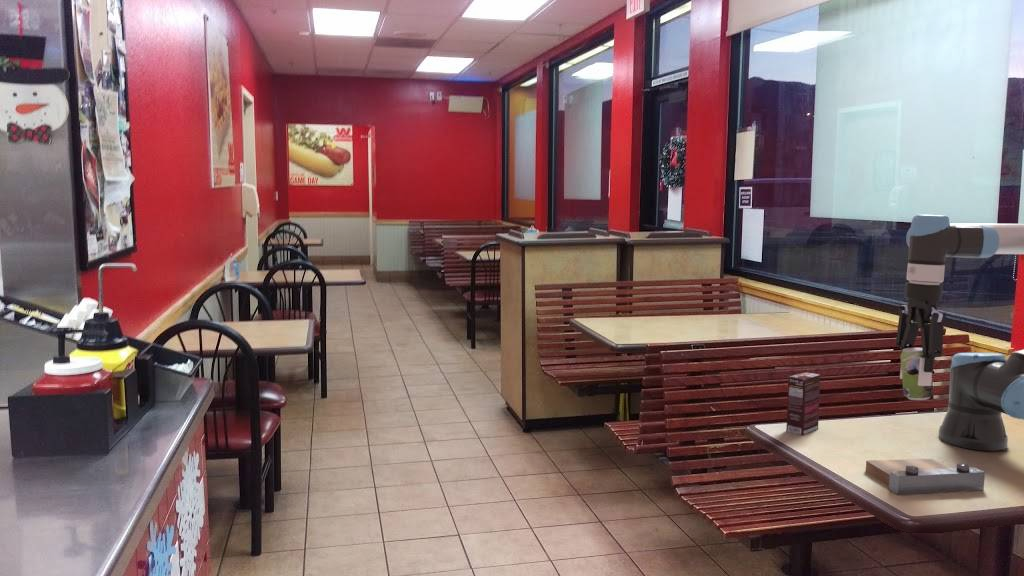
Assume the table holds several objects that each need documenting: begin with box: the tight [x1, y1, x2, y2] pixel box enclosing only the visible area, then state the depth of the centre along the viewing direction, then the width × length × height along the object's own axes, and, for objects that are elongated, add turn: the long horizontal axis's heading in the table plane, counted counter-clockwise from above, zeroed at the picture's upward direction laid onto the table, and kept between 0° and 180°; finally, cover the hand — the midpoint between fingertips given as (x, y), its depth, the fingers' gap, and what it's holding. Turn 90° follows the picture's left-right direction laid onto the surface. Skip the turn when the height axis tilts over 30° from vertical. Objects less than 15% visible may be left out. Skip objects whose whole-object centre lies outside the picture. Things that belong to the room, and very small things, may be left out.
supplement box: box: [785, 371, 821, 436], centre depth 202 cm, size 9×5×16 cm, turn 131°
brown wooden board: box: [865, 458, 950, 487], centre depth 171 cm, size 16×10×3 cm, turn 96°
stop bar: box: [888, 462, 986, 496], centre depth 164 cm, size 20×3×5 cm, turn 99°
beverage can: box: [899, 347, 934, 401], centre depth 178 cm, size 6×7×12 cm
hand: (914, 381), depth 178 cm, fingers closed on beverage can, 6 cm apart
